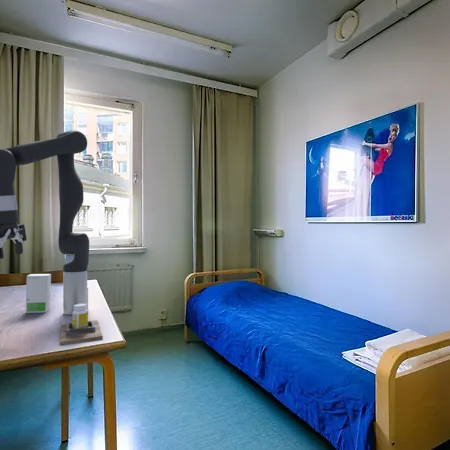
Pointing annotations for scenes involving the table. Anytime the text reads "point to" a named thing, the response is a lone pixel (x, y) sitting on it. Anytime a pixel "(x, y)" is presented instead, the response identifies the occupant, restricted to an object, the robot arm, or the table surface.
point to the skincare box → (38, 293)
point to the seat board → (80, 333)
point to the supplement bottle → (80, 316)
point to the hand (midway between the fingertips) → (10, 256)
